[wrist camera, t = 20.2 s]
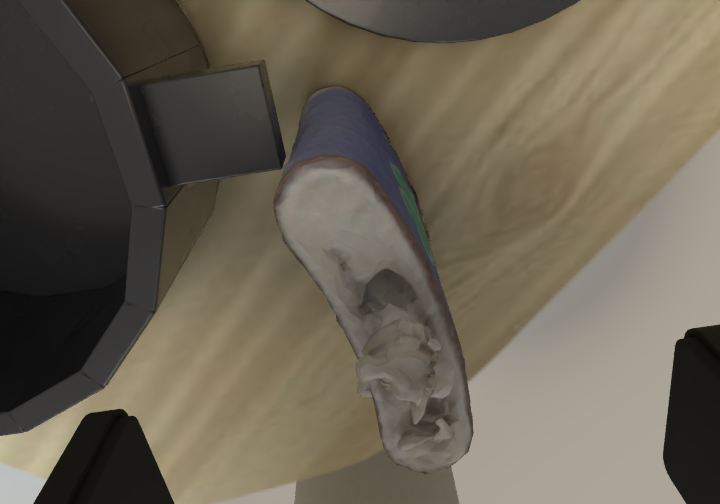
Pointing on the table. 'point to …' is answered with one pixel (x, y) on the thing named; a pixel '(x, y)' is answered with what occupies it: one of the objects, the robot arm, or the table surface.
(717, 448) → the robot arm
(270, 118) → the pan
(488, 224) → the table surface
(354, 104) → the flask
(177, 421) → the table surface
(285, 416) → the table surface
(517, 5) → the pan lid
